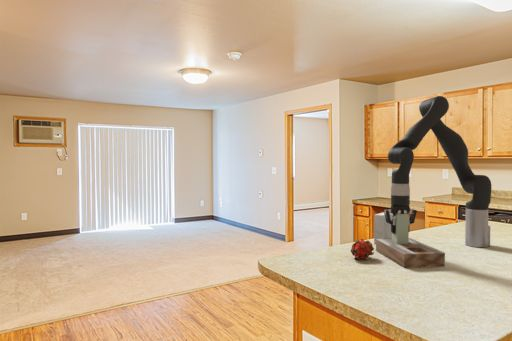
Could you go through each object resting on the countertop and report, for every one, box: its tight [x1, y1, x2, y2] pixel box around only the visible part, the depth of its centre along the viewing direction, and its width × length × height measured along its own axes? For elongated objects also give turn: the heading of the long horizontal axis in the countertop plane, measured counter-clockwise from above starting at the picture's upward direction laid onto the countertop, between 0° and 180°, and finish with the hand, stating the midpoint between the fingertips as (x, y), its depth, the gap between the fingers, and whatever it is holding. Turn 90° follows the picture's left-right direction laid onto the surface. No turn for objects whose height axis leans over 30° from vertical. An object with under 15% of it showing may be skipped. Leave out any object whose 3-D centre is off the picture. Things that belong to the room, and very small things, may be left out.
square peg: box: [392, 213, 410, 244], centre depth 157 cm, size 5×5×14 cm
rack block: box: [375, 237, 446, 269], centre depth 151 cm, size 16×26×5 cm, turn 5°
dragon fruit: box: [350, 238, 375, 260], centre depth 150 cm, size 8×8×12 cm
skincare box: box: [373, 211, 392, 245], centre depth 176 cm, size 8×6×15 cm
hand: (400, 233), depth 157 cm, fingers closed on square peg, 5 cm apart
